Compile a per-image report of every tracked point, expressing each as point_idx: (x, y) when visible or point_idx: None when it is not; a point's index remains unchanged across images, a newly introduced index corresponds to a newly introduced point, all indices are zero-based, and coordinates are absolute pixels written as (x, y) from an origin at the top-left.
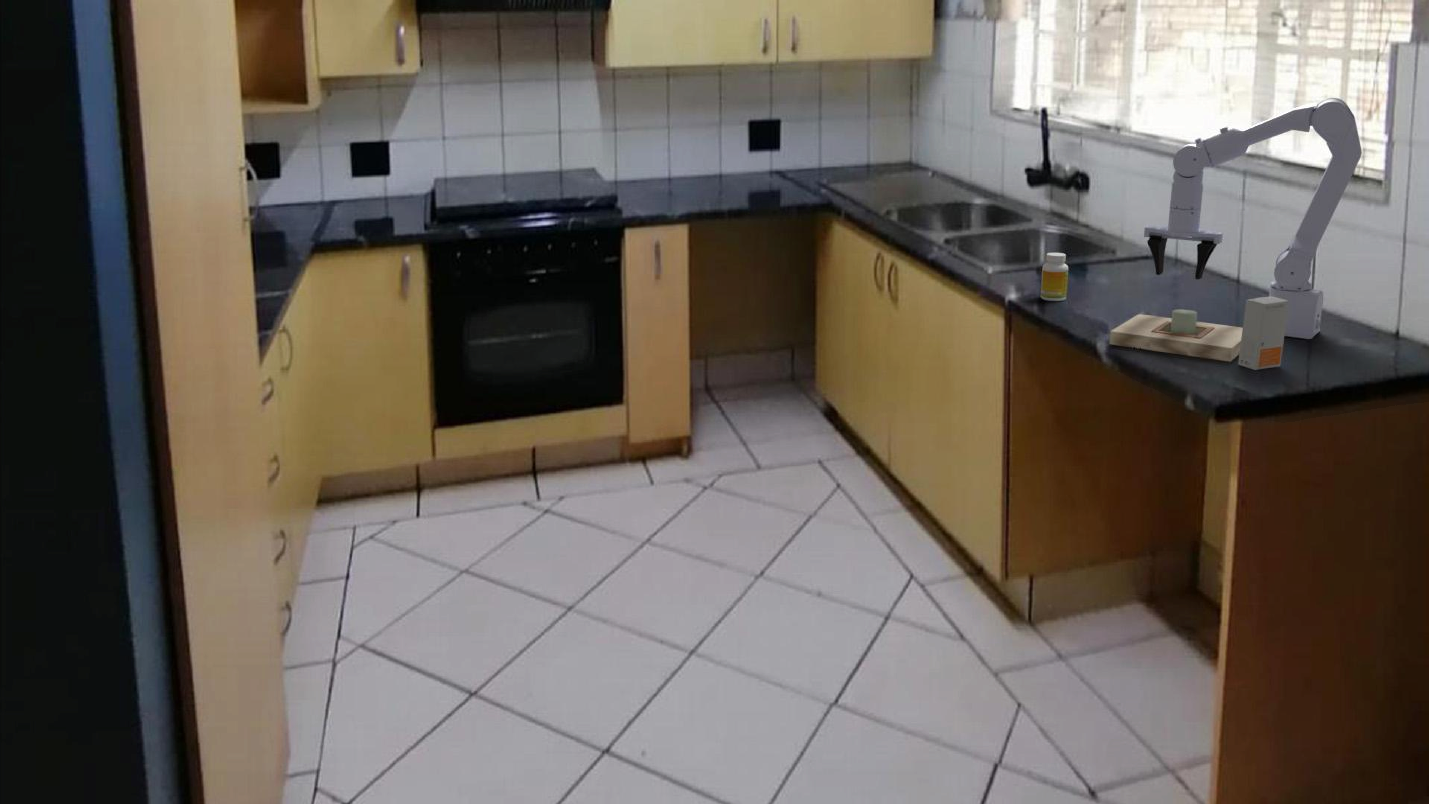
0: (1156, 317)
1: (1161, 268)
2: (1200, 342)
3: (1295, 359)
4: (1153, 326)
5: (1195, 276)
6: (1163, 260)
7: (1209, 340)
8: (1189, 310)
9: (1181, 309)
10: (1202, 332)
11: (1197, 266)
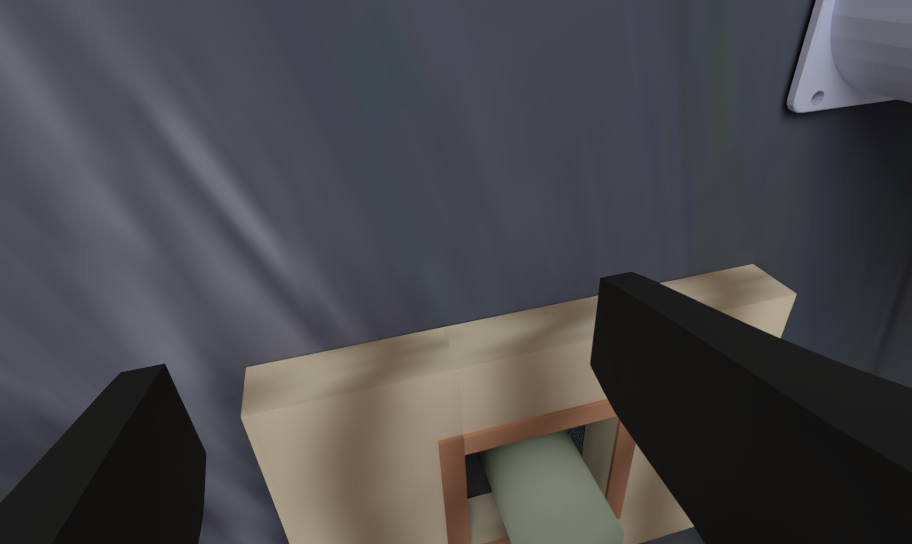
0: (358, 409)
1: (173, 470)
2: (625, 539)
3: (852, 356)
4: (423, 517)
5: (604, 391)
6: (96, 507)
7: (646, 509)
8: (585, 525)
9: (549, 537)
10: (615, 473)
11: (682, 492)
